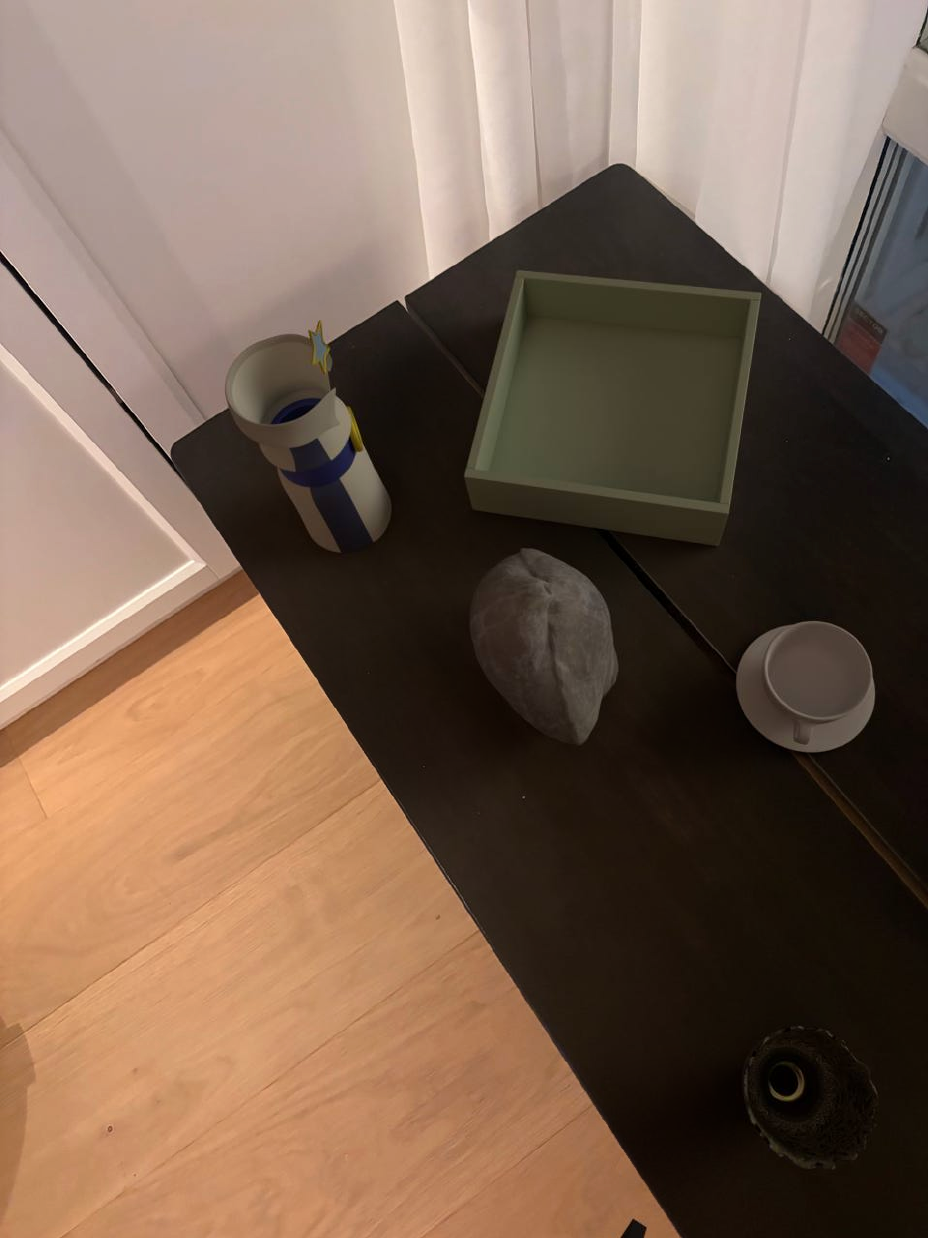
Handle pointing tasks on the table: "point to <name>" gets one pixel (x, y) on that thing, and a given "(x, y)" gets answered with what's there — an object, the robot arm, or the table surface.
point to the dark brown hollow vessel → (810, 1097)
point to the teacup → (806, 686)
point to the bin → (615, 405)
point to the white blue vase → (309, 438)
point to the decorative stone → (545, 642)
